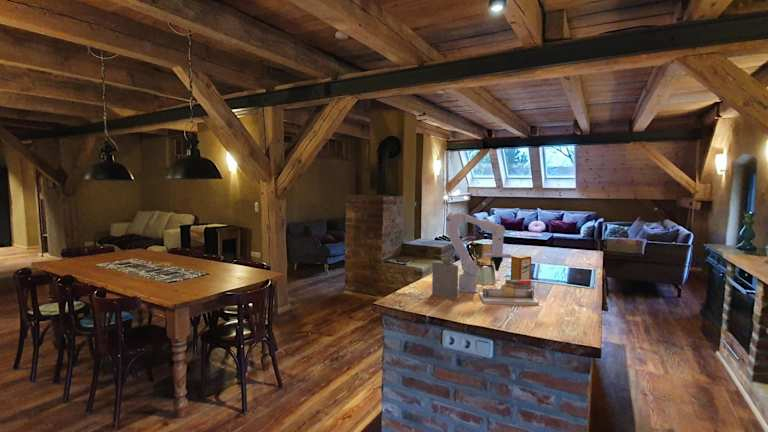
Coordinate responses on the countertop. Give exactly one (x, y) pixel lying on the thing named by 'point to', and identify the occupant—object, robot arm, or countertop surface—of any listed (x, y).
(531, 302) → the mounting board
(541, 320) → the countertop surface
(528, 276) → the baking soda box
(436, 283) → the hip flask
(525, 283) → the valve lever
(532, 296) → the ball valve
